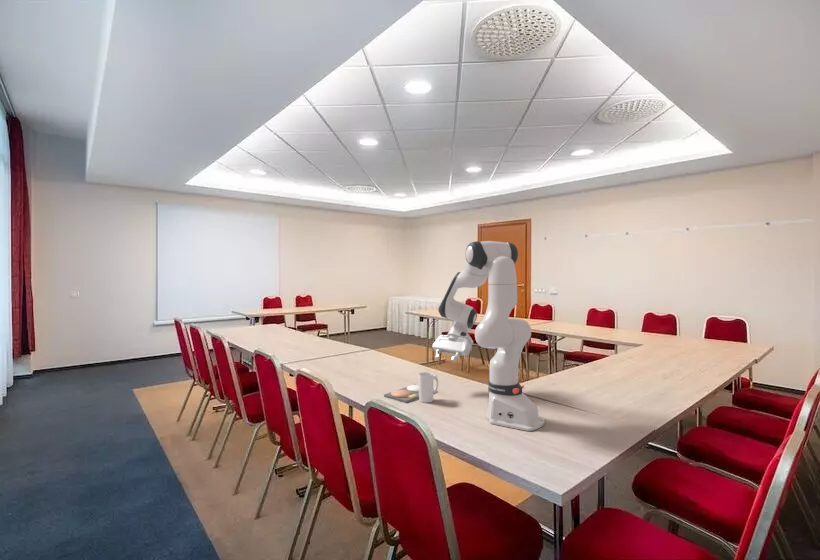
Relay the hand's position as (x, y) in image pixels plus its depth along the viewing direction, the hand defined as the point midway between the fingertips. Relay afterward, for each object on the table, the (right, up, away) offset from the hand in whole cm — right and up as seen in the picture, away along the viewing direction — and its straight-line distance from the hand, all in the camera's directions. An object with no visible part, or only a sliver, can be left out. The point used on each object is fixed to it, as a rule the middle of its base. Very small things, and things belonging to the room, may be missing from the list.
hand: (444, 359), depth 187 cm
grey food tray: (-16, -16, +1) cm, 23 cm away
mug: (-8, -17, -8) cm, 20 cm away
